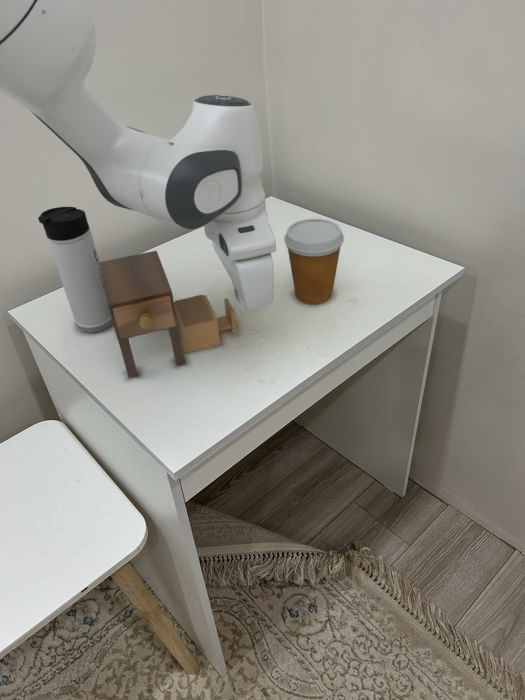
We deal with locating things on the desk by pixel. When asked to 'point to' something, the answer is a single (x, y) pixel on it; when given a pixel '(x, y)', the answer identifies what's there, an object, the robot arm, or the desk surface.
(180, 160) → the robot arm
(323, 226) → the disposable coffee cup
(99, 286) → the travel mug
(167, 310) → the drawer unit
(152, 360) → the desk surface
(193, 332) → the wooden drawer
